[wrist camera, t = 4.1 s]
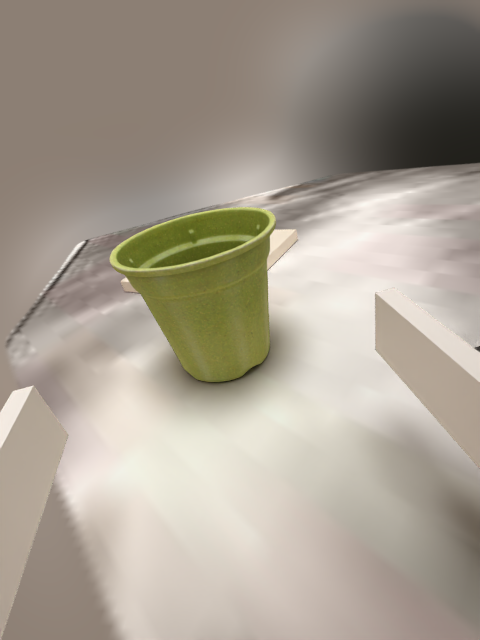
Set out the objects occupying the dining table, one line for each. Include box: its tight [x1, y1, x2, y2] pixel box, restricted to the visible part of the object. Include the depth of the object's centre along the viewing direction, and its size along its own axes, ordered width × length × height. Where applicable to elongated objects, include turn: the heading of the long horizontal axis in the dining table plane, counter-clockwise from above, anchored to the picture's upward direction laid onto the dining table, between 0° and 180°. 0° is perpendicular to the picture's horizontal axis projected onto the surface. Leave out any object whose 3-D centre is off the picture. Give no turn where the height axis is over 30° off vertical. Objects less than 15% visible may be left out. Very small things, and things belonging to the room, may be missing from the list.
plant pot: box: [110, 207, 276, 382], centre depth 22 cm, size 9×9×9 cm
